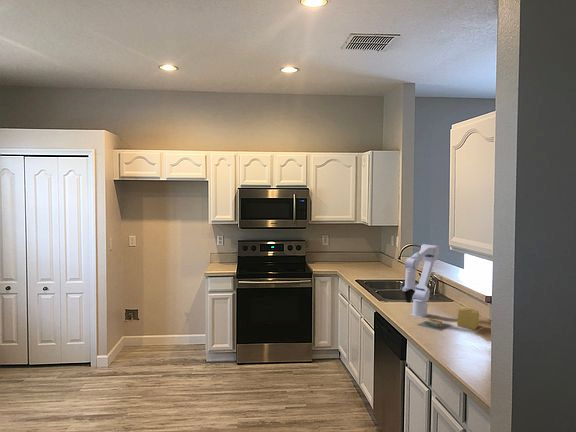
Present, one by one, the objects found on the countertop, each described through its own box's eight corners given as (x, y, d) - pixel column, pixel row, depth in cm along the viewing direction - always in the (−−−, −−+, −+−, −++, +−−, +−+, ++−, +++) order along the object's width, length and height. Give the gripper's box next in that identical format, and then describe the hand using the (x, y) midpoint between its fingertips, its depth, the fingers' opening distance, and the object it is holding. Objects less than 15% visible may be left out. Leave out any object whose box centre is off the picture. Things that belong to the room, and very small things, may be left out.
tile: (430, 318, 270) (425, 321, 265) (442, 321, 266) (437, 323, 260) (429, 323, 270) (424, 325, 265) (441, 326, 266) (436, 328, 260)
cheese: (478, 326, 271) (480, 309, 271) (475, 330, 262) (477, 312, 262) (459, 322, 277) (461, 306, 276) (456, 327, 267) (457, 309, 267)
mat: (428, 320, 277) (428, 319, 277) (452, 326, 268) (452, 325, 268) (416, 325, 265) (416, 324, 265) (441, 331, 256) (441, 330, 256)
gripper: (411, 281, 267) (409, 305, 267) (422, 278, 278) (420, 301, 278) (399, 279, 271) (397, 302, 272) (410, 276, 282) (409, 299, 283)
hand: (408, 302), depth 275 cm, fingers closed
